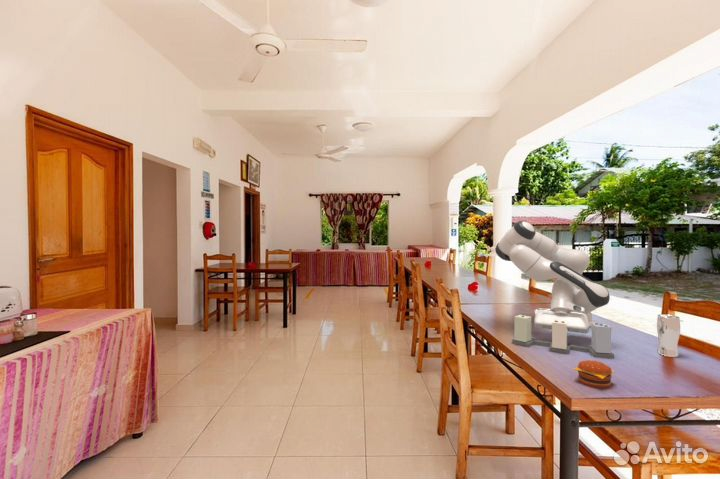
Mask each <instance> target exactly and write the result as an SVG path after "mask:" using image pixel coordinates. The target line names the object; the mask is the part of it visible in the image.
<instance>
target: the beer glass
mask: <svg viewBox="0 0 720 479" xmlns="http://www.w3.org/2000/svg"><path fill="white" fill-rule="evenodd" d="M680 319H681V318H680V316H677V315H672V314H665V313H664V314H662V313H661V314H657V319H656V331H657V336H658V345H659V346H658V349H657V350H658V351H657V353H658V355H660V354H661V355H660V356H663V355H664V356H663V357H670V358H678V357H679V351H678V343H679V341H680V340H679V339H680V334H681V320H680Z"/></svg>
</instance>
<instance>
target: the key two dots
mask: <svg viewBox="0 0 720 479" xmlns="http://www.w3.org/2000/svg"><path fill="white" fill-rule="evenodd" d="M551 342H552V347H553V348H560V349H567V344H568V332H567V321H558V320H553V322H552V329H551Z"/></svg>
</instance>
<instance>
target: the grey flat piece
mask: <svg viewBox="0 0 720 479" xmlns="http://www.w3.org/2000/svg"><path fill="white" fill-rule="evenodd" d="M511 344H514V345H519V346H522V347H526V348H529V347H531V346H534V345H535V346H541V347H547V348H548V347H549V348H548V350H549V352H553V353H560V354H565V355H566V354H567V355H570V352H571V351H574V352H575V351H576V352H577V351H578V352H583V353H588V354H590V356H592V357H593V358H604V359H605V358H606V359H615V354H614V353H613V352H612V351H611V353H598V352H595V351H594V350H593V349H592V345H580V344H579V345H578V344H571V343H567V349H560V348H553V347H552V340H551V341H550V340H542V339H537V338H535V337H531V340H530V341H528V342H523V341H518V340H514V338H513V339H511Z"/></svg>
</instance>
